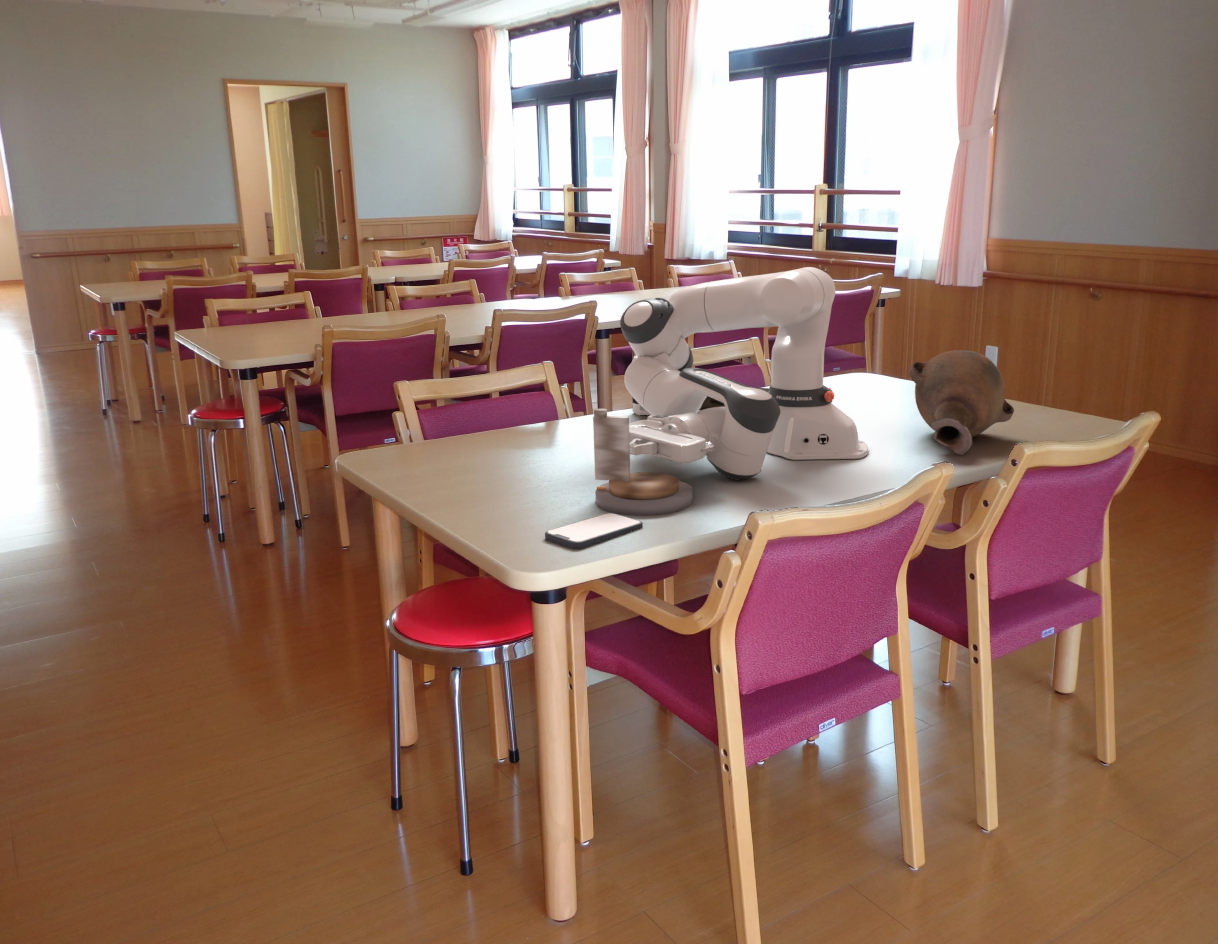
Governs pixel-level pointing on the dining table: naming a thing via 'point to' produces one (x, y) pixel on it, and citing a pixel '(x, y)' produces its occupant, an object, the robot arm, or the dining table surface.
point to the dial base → (644, 502)
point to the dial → (624, 462)
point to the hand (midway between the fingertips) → (629, 450)
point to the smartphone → (592, 530)
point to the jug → (960, 396)
